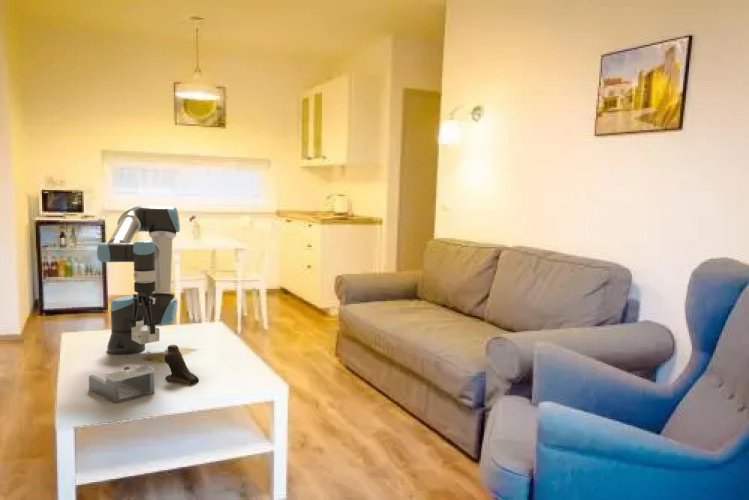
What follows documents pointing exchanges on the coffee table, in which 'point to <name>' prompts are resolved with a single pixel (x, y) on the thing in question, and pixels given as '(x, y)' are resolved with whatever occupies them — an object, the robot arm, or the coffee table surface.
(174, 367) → the sculpture
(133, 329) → the small box
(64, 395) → the coffee table surface
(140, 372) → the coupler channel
